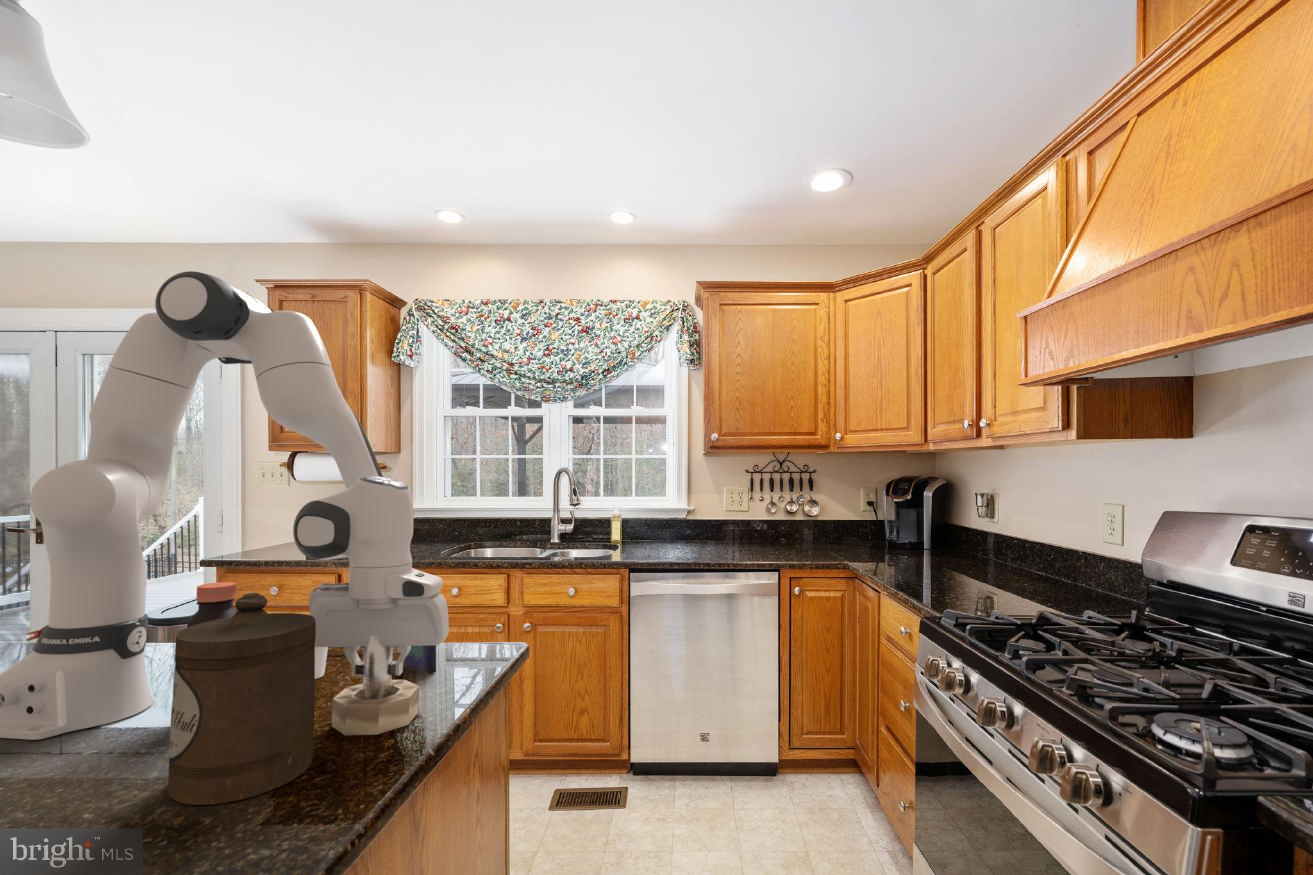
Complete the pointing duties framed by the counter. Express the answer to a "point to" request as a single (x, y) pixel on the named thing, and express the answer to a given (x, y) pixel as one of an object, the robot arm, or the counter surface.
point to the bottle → (214, 602)
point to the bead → (375, 709)
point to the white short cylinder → (320, 661)
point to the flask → (421, 659)
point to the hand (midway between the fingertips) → (377, 674)
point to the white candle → (376, 670)
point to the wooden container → (242, 704)
